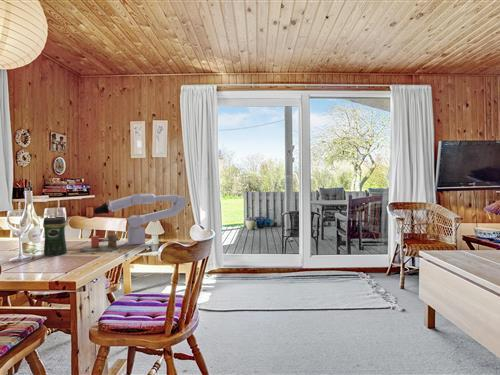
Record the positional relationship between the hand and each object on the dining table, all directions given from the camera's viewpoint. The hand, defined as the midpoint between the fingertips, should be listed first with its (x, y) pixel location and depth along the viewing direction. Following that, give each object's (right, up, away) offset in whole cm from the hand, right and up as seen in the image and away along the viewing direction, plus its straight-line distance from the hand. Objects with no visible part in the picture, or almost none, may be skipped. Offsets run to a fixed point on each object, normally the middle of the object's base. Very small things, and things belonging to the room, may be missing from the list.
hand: (94, 211), depth 186 cm
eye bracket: (+6, -19, -6) cm, 21 cm away
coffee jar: (-10, -20, -20) cm, 30 cm away
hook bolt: (+9, -18, -5) cm, 21 cm away
